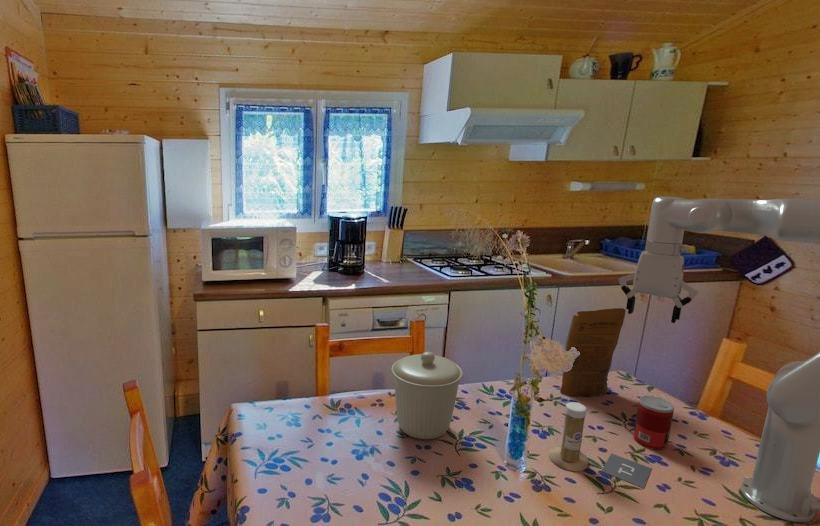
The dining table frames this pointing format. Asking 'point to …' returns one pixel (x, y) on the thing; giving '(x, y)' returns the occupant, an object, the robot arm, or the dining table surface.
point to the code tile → (627, 470)
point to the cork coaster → (557, 460)
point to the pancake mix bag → (592, 350)
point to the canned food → (653, 422)
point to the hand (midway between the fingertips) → (651, 317)
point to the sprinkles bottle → (572, 432)
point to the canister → (425, 394)
